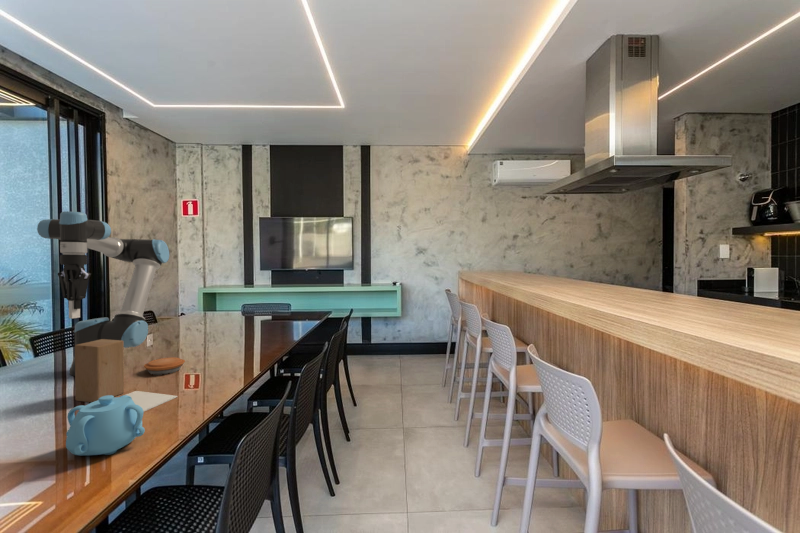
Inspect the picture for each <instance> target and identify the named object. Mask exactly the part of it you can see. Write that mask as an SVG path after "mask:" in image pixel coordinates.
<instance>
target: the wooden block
mask: <svg viewBox="0 0 800 533" xmlns="http://www.w3.org/2000/svg"><path fill="white" fill-rule="evenodd" d="M124 349H125V348H124V342H123V341H122V340H108V339H100V340H96V341H91V342H87V343H82V344H77V345H75V344H74V357H75V376H74V383H75V387H74V388H75V390H74V391H75V394H74V396H75V398H74V399H75V401H76V402H84V403H85V402H86V403H92V402H94V401H97V400H98V399H99V398H100V397H103V396H107V395H112V396H114V397H119V396H121V395H123V394H124V393H125V381H124V380H125V377H124V376H125V375H124V373H125V372H124V371H125V365H124V364H125V363H124V361H125V360H124V359H125V357H124V356H125V355H124V353H125V352H124V351H125V350H124Z"/></svg>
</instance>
